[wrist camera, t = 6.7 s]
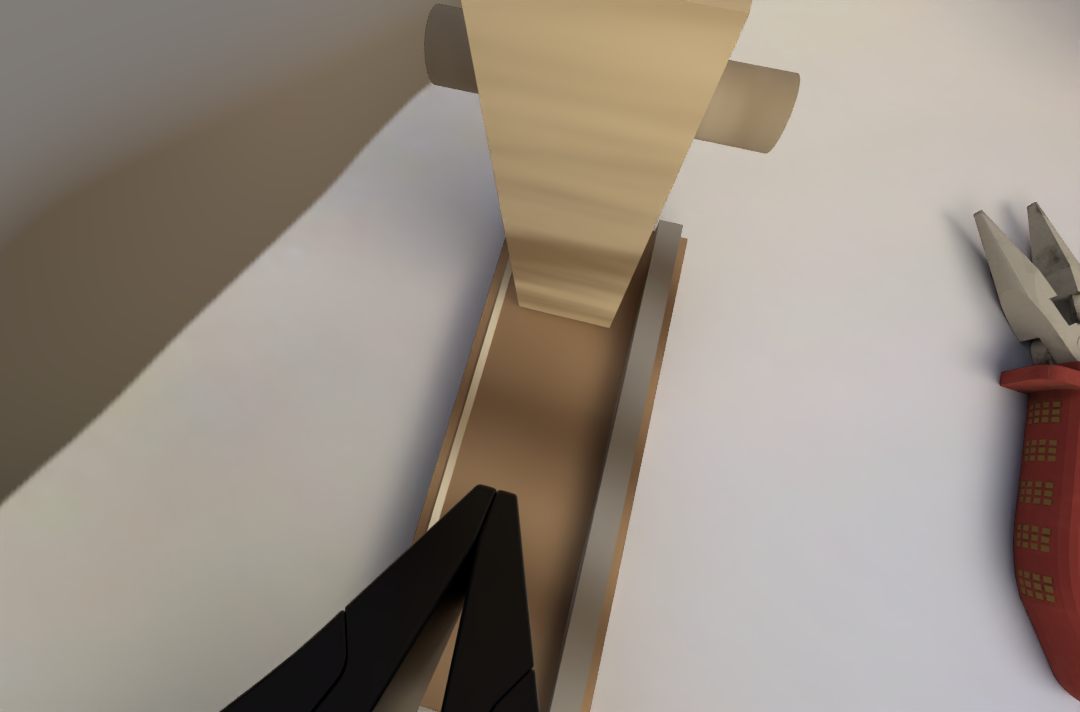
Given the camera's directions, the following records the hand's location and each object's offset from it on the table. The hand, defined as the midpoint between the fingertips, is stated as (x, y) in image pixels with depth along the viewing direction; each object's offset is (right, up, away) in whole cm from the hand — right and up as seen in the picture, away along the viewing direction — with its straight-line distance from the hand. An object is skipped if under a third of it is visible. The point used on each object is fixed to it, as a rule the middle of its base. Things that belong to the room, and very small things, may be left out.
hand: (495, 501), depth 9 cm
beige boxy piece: (+3, +7, +11) cm, 13 cm away
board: (+1, -1, +11) cm, 11 cm away
